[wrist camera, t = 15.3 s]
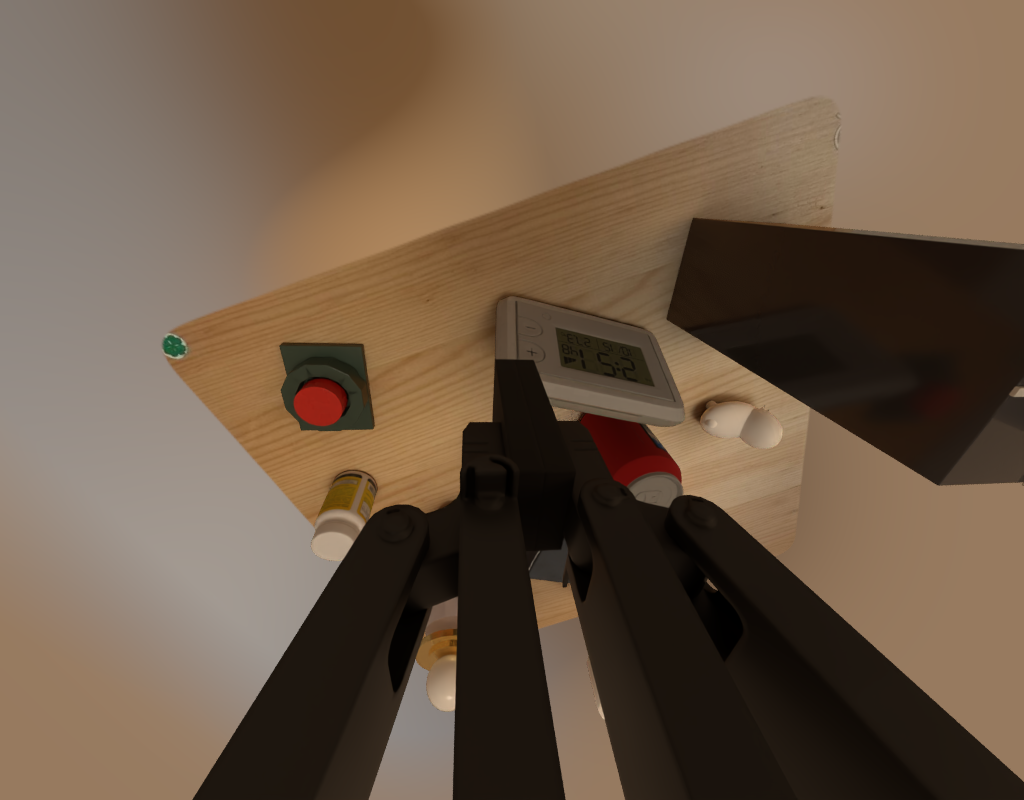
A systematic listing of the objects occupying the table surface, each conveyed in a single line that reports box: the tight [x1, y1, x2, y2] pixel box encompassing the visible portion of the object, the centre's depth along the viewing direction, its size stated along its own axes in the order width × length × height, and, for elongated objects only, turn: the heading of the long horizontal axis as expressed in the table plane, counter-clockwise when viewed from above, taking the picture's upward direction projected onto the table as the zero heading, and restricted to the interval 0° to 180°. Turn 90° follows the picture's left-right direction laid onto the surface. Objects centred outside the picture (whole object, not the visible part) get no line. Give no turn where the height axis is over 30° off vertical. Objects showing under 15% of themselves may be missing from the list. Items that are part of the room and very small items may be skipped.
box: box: [526, 537, 570, 583], centre depth 41 cm, size 11×7×10 cm, turn 70°
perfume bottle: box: [416, 507, 458, 712], centre depth 37 cm, size 6×6×20 cm
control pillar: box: [667, 218, 1024, 486], centre depth 24 cm, size 9×9×24 cm
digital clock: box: [494, 296, 685, 427], centre depth 32 cm, size 16×9×11 cm, turn 63°
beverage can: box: [580, 413, 683, 508], centre depth 36 cm, size 7×7×12 cm
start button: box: [294, 378, 348, 426], centre depth 33 cm, size 4×4×2 cm
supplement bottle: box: [311, 471, 377, 561], centre depth 38 cm, size 5×5×8 cm
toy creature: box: [700, 401, 783, 449], centre depth 40 cm, size 5×8×6 cm, turn 86°
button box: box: [280, 343, 375, 431], centre depth 35 cm, size 9×7×2 cm
